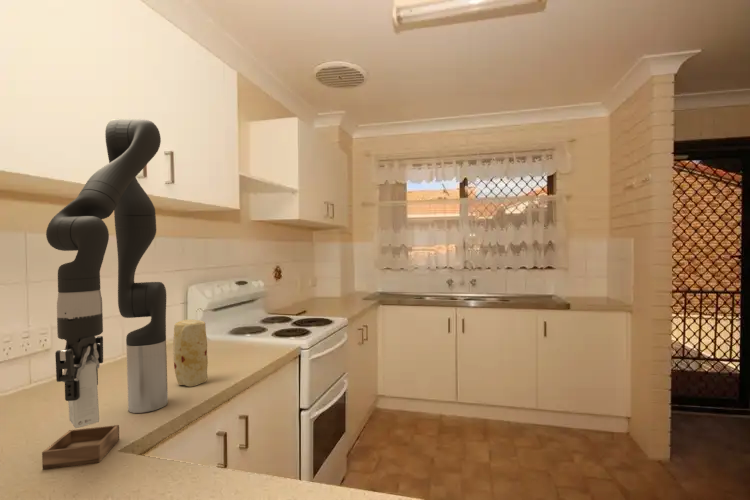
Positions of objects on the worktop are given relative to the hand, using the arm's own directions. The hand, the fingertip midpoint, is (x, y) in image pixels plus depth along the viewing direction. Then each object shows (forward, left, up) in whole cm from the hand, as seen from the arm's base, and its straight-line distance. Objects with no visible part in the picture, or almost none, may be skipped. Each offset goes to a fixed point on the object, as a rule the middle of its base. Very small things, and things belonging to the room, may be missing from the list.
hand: (82, 393), depth 81 cm
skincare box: (0, 0, -6) cm, 6 cm away
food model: (-40, +11, -13) cm, 44 cm away
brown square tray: (0, 0, -13) cm, 13 cm away
